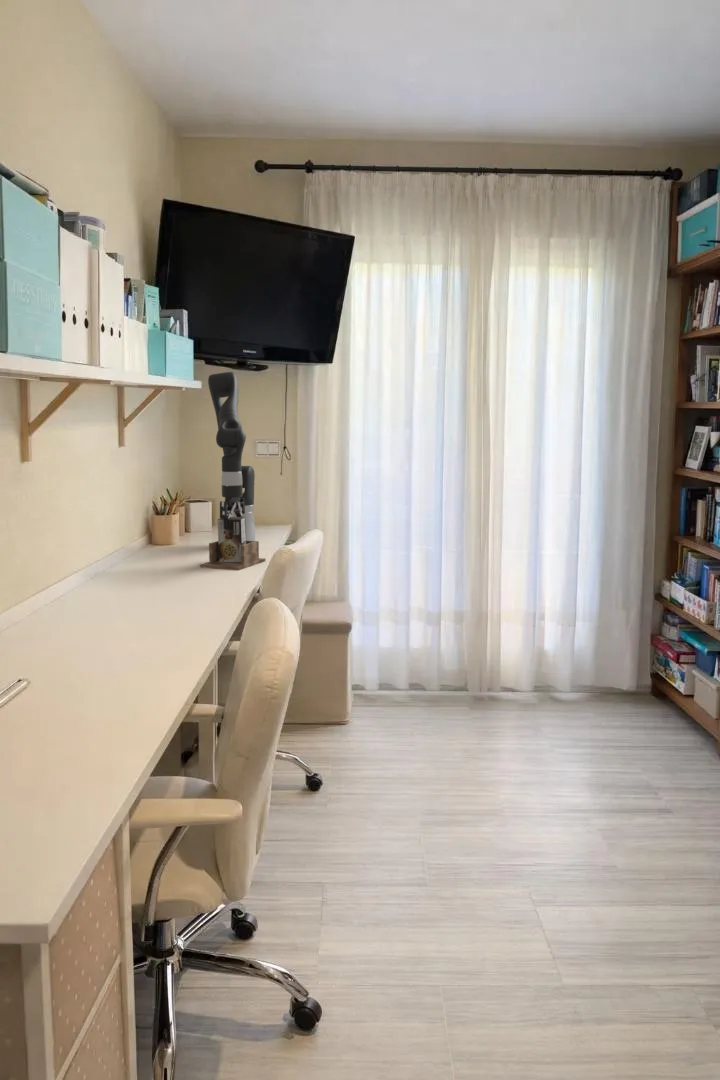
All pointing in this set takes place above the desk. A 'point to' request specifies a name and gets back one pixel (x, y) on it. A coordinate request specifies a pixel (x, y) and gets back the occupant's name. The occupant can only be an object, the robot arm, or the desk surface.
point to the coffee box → (231, 539)
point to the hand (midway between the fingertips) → (232, 528)
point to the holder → (247, 559)
